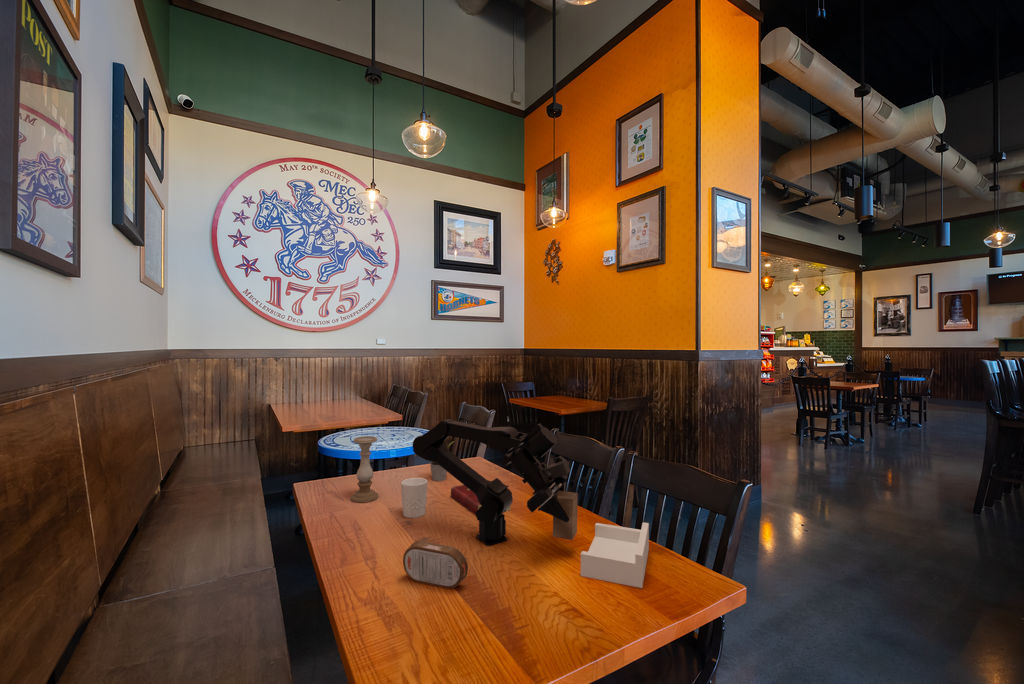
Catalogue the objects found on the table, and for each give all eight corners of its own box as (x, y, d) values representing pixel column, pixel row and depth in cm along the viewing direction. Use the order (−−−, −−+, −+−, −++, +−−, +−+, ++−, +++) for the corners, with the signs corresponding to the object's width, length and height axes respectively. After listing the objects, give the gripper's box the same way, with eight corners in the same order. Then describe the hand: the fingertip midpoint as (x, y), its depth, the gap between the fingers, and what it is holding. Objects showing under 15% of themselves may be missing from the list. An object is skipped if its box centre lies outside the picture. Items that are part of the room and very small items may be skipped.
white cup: (395, 516, 134) (396, 483, 134) (410, 507, 141) (411, 476, 141) (417, 520, 131) (418, 486, 131) (432, 511, 138) (432, 479, 138)
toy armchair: (580, 575, 100) (580, 545, 100) (595, 541, 118) (596, 515, 118) (642, 588, 95) (642, 555, 95) (648, 550, 113) (648, 523, 113)
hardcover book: (478, 519, 133) (478, 505, 134) (450, 498, 151) (450, 486, 151) (512, 511, 140) (512, 498, 140) (481, 492, 158) (481, 480, 158)
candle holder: (383, 497, 151) (384, 437, 151) (362, 504, 143) (363, 442, 143) (366, 492, 155) (367, 434, 156) (345, 499, 148) (346, 439, 148)
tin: (468, 586, 96) (468, 547, 96) (462, 593, 93) (462, 553, 93) (408, 573, 101) (408, 536, 101) (400, 580, 98) (401, 542, 98)
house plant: (411, 483, 166) (411, 440, 166) (424, 473, 179) (424, 432, 179) (447, 486, 163) (448, 441, 163) (458, 475, 177) (458, 434, 177)
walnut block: (552, 536, 110) (553, 496, 110) (558, 528, 115) (558, 490, 115) (572, 540, 108) (573, 499, 108) (576, 532, 113) (577, 493, 113)
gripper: (540, 457, 104) (585, 511, 100) (560, 441, 122) (600, 486, 118) (508, 485, 107) (551, 539, 103) (533, 466, 124) (570, 511, 120)
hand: (570, 517), depth 111 cm, fingers closed on walnut block, 5 cm apart
